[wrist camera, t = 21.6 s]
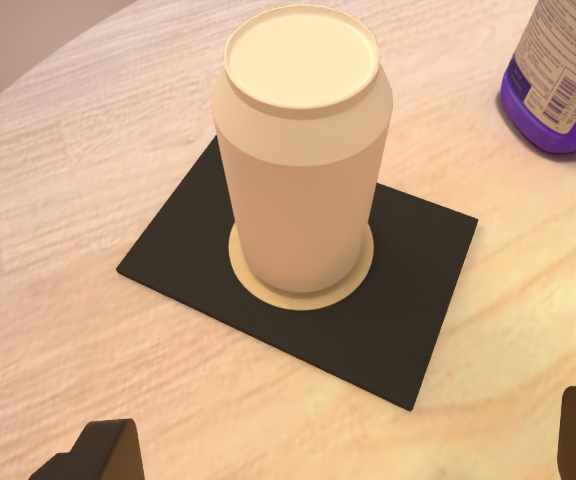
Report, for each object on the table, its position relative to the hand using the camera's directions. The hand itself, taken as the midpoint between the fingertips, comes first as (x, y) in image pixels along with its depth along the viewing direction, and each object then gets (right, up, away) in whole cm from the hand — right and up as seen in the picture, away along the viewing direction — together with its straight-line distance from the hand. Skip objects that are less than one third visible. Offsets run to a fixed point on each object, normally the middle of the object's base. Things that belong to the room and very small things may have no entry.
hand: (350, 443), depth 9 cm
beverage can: (0, +3, +16) cm, 17 cm away
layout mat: (0, +3, +17) cm, 17 cm away
